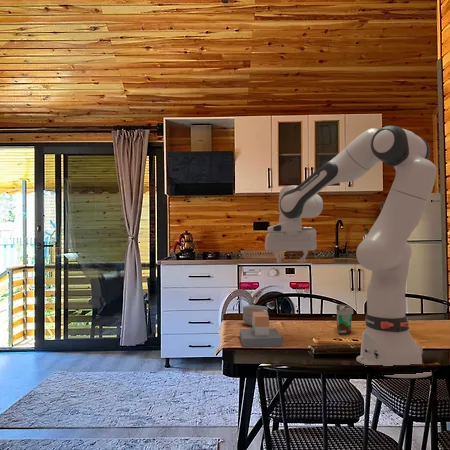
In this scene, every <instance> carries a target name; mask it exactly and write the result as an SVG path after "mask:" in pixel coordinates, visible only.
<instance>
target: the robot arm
mask: <svg viewBox="0 0 450 450" xmlns="http://www.w3.org/2000/svg"><path fill="white" fill-rule="evenodd" d="M430 156H431V147H430V145H429V143H428V142H427V141H426V139H424V138H423V137H421V136H419V135H417V134H415V133H414V132H413V131H410V130H408V129H405V128H402V127H400V126H397V125H385V126H383V127H381V128H379V129H378V128H375V127H372V128H368V129H367V130H365V131H363V132H362V133H361V134H359V135H357V137H355V138H354V139H353V140H352V141H351V142H350V143H348V144H347V145H346V146H345V148H343V149H342V150H341V151H340V152H339V153H337V154H336V155H335V156H334V157H333V158H332V159H331V160H329V161H327V162H326V163H324V164H323V165H322V166H320V167H319V168H317V170H314V172H312V173H311V174H310V175H309V176H307V178H306V179H304V180H303V181H302V182H301V183H300V184H299V185H297V184H292V185H286V186H283V187H282V188H281V189H280V191H279V195H278V210H279V211H278V212H279V218H278V223H274V224H272V225H270V226H268V227H267V232H268V233H267V234H266V235H265V240H264V249H265V251H266V252H273V254H274V256H275V258H276V263H277V264H281V263H282V258H281V257H280V256H279V252H285V251H286V252H288V251H289V252H290V251H291V252H295V251H296V252H297V251H298V252H299V251H302V254H303V255H302V257H300V258H299V259H300V263H306V258H307V256H308V254H309V251H316V250H317V249H318V248H317V247H318V243H317V230H316V229H315V228H314V227H312V226H308V227H307V226H302V225H303V222H302V221H303V220H302V219H314V218H317V217H319V216H320V215H321V214H322V212H323V210H324V200H323V197H322V196H321V195H319V192H320V191H322V190H323V189H325V188H326V187H328V186H332V185H335V184H341V183H349V182H354V181H356V180H358V179H360V178H362V176H363V177H364V175H366V173H367V172H369V171H370V170H371V169H372V168H374V166H375V165H377V163H379V162H383V163H384V164H385V165H386V166H388V167H389V168H394V170H395V177H394V180H393V182H392V185H391V187H390V190H389V193H388V195H387V197H386V199H385V202H384V204H383V206H382V209H381V211H380V213H379V215H378V216H377V218H376V220H375V221H374V223H373V224H372V226H371V227H370V229H369V231H368V233H367V234H366V236H365V238H364V239H363V240H362V241H361V242H360V243H359V244H358V246H357V248H356V252H355V254H356V259H357V262H358V264H360V265H361V267H363V268H364V269H366V270H368V271H371V275H370V280H369V283H368V285H367V289H366V313H365V319H364V320H365V325H366V327H365V329H364V331H363V332H362V334H361V337H360V338H361V340H360V355H358V356H357V357H356V359H355V360H356V362H358V363H360V364H361V365H363V364H364V365H363V366H365V365H383V366H393V365H410V364H422V363H423V357H422V356H423V353H424V350H423V347H422V346H421V345H420V346H419V345H418V344H417V342H416V340H415V339H414V338H413V335H412V334H411V332H410V331H409V329H410V325H409V324H410V323H409V321H408V318H407V315H406V285H407V279H408V273H409V265H410V259H411V257H412V252H413V251H412V247H411V245H410V243H409V242H408V239H409V238H410V236H411V234H412V233H413V231H414V230H415V229H416V228H417V227H418V225H419V223H420V221H421V218H422V217H423V214H424V212H425V209H426V207H427V205H428V202H429V200H430V197H431V195H432V192H433V189H434V186H435V182H436V177H437V173H438V172H437V171H438V170H437V166H436V165H435V164H434V163H433V162H432V161H431V160H429V159H430ZM430 376H433V373H432V371H431V372H423V373H416V374H394V375H384V376H383V377H388V378H397V379H420V378H422V379H423V378H428V377H430Z"/></svg>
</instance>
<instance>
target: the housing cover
mask: <svg viewBox="0 0 450 450" xmlns="http://www.w3.org/2000/svg"><path fill="white" fill-rule="evenodd" d="M252 322H253V323H254V325H255V327H267V326H269V327H270V316H269V314H268V315H267V313H266V312H252Z"/></svg>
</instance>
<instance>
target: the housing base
mask: <svg viewBox="0 0 450 450" xmlns="http://www.w3.org/2000/svg"><path fill="white" fill-rule="evenodd" d="M269 328H270V325H269V326H267V327H255V325H254V323H253V322H252V326H251V329H252V331H253V333H254V335H255V336H269Z"/></svg>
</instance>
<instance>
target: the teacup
mask: <svg viewBox="0 0 450 450" xmlns="http://www.w3.org/2000/svg"><path fill="white" fill-rule="evenodd" d="M268 309H269V307H267V306H264V305H253V304H252V305H250V304H249V305H244V306H243V305H242V321H243V322H244V323H245V324H246V325H248V326H250V327H252V312H266V313H267V315H268V316H269V312H268Z"/></svg>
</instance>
